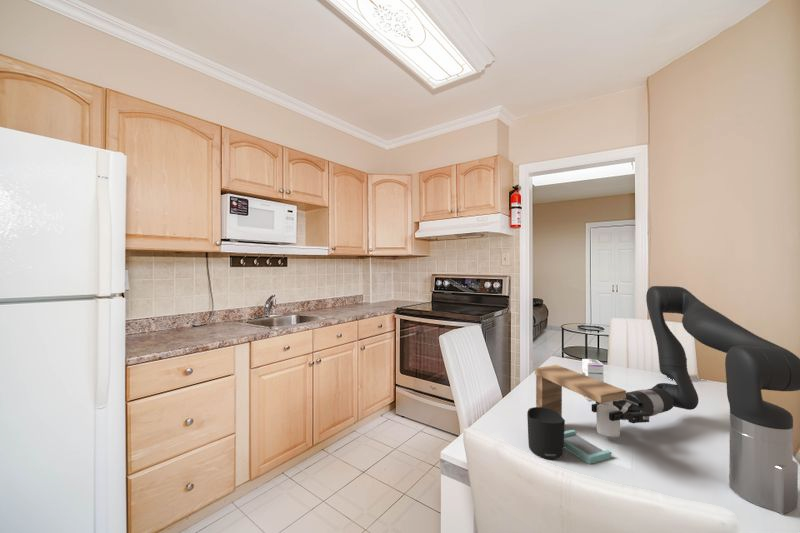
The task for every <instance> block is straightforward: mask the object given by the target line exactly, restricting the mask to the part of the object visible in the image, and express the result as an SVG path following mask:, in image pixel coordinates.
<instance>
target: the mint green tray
mask: <svg viewBox="0 0 800 533" xmlns="http://www.w3.org/2000/svg"><path fill="white" fill-rule="evenodd" d="M563 449H566V450H568V451H569V452H571V453H572V454H573V455H575V456H576V457H578V458H579V459H581V460H582V461H584V462H586V463H587V464H588V465H591V464H594V463H598V462H601V461H604V460H609V459H611V458H613V457H612V454H613V452H612V451H611V450H610V449H606V450H603V449H602V448H599V447H598V446H596V445H594V443H593V444H592V443H591V442H590V441H587V440H586V439H584V438H583V437H580V436H579V435H577V430H575V429H569V430H564V447H563Z"/></svg>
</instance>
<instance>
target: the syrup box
mask: <svg viewBox="0 0 800 533" xmlns="http://www.w3.org/2000/svg"><path fill="white" fill-rule="evenodd" d="M581 361H582V363H581V367H582V369H581V370H582V371H581V372H582V373H581V374H583V375H586V376H588V377H591V378H594V379H596V380H599V381H602V382H604V364H603V363H602V362H601V361H599V360H598V359H592V358H582V359H581ZM604 383H605V382H604ZM583 397H584V398H585V399H586V400H587V401H588V402H589V401H590V402H595V401H594V400H592V399H590V398H588V397H585V396H583Z"/></svg>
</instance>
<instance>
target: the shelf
mask: <svg viewBox="0 0 800 533" xmlns="http://www.w3.org/2000/svg"><path fill="white" fill-rule="evenodd" d="M534 375H535V376H536V377H535V379H536V380H535V381H536V382H535V383H536V384H535V386H536V387H535V389H536V390H535V405H536V406H535V407H544V408H549V409H552V410H555V411H556V412H558V413H559V414H560V415H561V417H562V418H563V414H562V413H563V411H562V410H563V398H562V397H563V388H565V389H567V390H569V391H572V392H575V393H577V394H578V395H581V396H583V397H584V396H585V397H588V398H590V399H592V400H594V401H593V402H596V401H597V402H599V403H605V402H610V401H615V400H620V399H625V398H626V393H627V390H626V389H623V388H621V387H617V386H615V385H612V384H609V383H607V382H602V381H599V380H596V379H594V378H591V377H588V376H586V375H583V374H582V373H580V372H577V371H574V370H572V369H569V368H567V367H563V366H561V365H558V364H554V365H546V366H540V367H535V368H534ZM585 397H584V398H585Z"/></svg>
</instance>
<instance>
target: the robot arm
mask: <svg viewBox="0 0 800 533" xmlns="http://www.w3.org/2000/svg"><path fill="white" fill-rule="evenodd" d="M645 294H646V295H645V299H646V307H647V311H648V315H649V320H650V323H651V326H652V330H653V334H654V337H655V342H656V346H657V354H658V355H657V356H658V365H659V372H660V373H661V374H662V375H664V376H666V377H667V376H669V377H671V378H673V379H674V380H675V381H674V382H675V384H674V383H670V382H668V383H667V382H661V383H657V384H655V385H654V386H652V387H651V388H647V389H637V390H633V391H628V392H627V391H626V398H625V399H620V400H615V401H613V406H616V407H617V408H618V409H619V411H614V412H610V413H609V420H611V421H617V420H620V421H628V423H630V424H640V423H641V424H642V423H643V424H644V423H649V422H650V417H654V416H657V415H658V414H662V413H666V412H668V411H671V410H672V409H673V408H674V407H675V408H679V409H683V410H689V411H690V410H691V411H692V410H695V409H696V408H697V407H698V405H699V395H698V392H697V389H696V388H695V386H694V383H693V381H692V379H691V375H690V373H689V370H688V360H687V361H686V358H687V355H686V351H685V348H684V346H683V345H682V343H681V342H680V340H679V339H678V338H677V337H676V335H675V334H674V333H673V332H672V331H671V329H670V328H669V326H668V325H667V323H666V320H665V317H664V314H679V315H682V318H681V324H682V327H683V329H684V330H685V332H687V334H689V335H690V336H691V337H693V338H694V339H695V340H696V341H698V342H699V343H701V344H703V345H705V346H707V347H709V348H711V349H714V350H716V351H719V352H722V353H725V359H724V360H725V361H724V367H725V381H726V396H727V400H728V404H729V455H728V456H729V461H728V463H729V465H728V467H729V470H728V471H729V474H728V476H729V477H728V480H729V483H728V484H729V488H730V489H731V491H733V492H734V494H736V495H738V496H739V497H740V498H742V499H744V500H746V501H748V502H749V503H752V504H754V505H757V506H760V507H762V508H765V509H768V510H771V511H774V512H777V513H778V514H781V515H784V514H787V513H788V512H791V511H793V510H794V509H796V508H798V498H799V497H798V486H799V485H798V484H799V483H798V480H799V479H798V478H799V476H798V475H799V474H798V473H799V472H798V471H799V467H798V466H799V465H798V462H797V461H794V460H793V459H794V457H793V456H794V417H793V415H792V413H791V412H790V411H788V410H787V409H785V408H783V407H782V406H779V405H777V404H774V403H771V402H768V401H765V400H764V399H763V395H762V390H763V391H765V390H766V391H773V392H777V391H778V392H797V391H800V357H799V356H797V355H796V354H795V353H793V352H792V351H790V350H789V349H787V348H785V347H782V346H780V345H778V344H776V343H775V342H774V343H773V342H772V341H769V340H768V339H765V338H763V337H761V336H759V335H757V334H755V333H753V332H752V331H750V330H748V329H746V327H745V328H744V327H743V326H741V325H740V324H738V323H736V322H734V321H733V320H731V319H730V318H729V317H727V316H725V315H724V314H722V313H721V312H719V311H717V310H715V309H713V308H712V307H710V306H709V305H707V304H706V303H704V302H702V301H701V300H700V299H699V298H697V297H696V296H695V295H694V294H693V293H692V292H690V291H689V290H688V289H686V288H684V287H681V286H677V285H676V286H671V285H654V286H650V287H648V289H647V290H646V293H645ZM599 404H603V403H599V402H597V401H595V403H592V404H591V412H593V414H595V413H597V405H599Z"/></svg>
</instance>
